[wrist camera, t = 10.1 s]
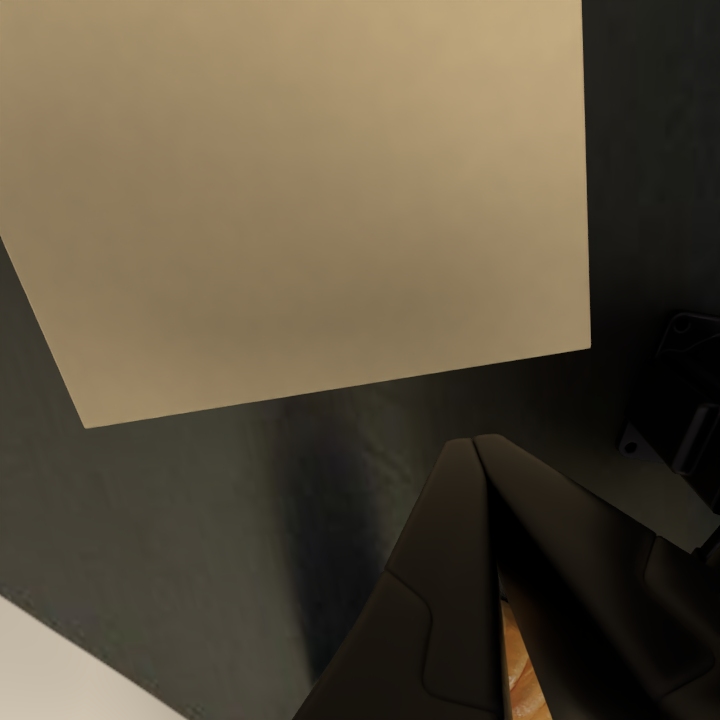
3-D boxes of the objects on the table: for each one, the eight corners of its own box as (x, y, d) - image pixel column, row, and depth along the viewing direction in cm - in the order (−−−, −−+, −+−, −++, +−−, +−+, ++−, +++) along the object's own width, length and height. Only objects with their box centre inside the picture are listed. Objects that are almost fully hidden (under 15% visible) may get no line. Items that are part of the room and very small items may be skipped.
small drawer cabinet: (56, -128, 16) (-282, -402, 8) (459, -235, 15) (564, -688, 7) (197, 313, 22) (83, 430, 13) (503, 259, 20) (592, 348, 12)
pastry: (377, 628, 28) (378, 700, 24) (473, 553, 26) (489, 619, 22) (501, 714, 30) (518, 790, 27) (598, 651, 28) (630, 724, 25)
